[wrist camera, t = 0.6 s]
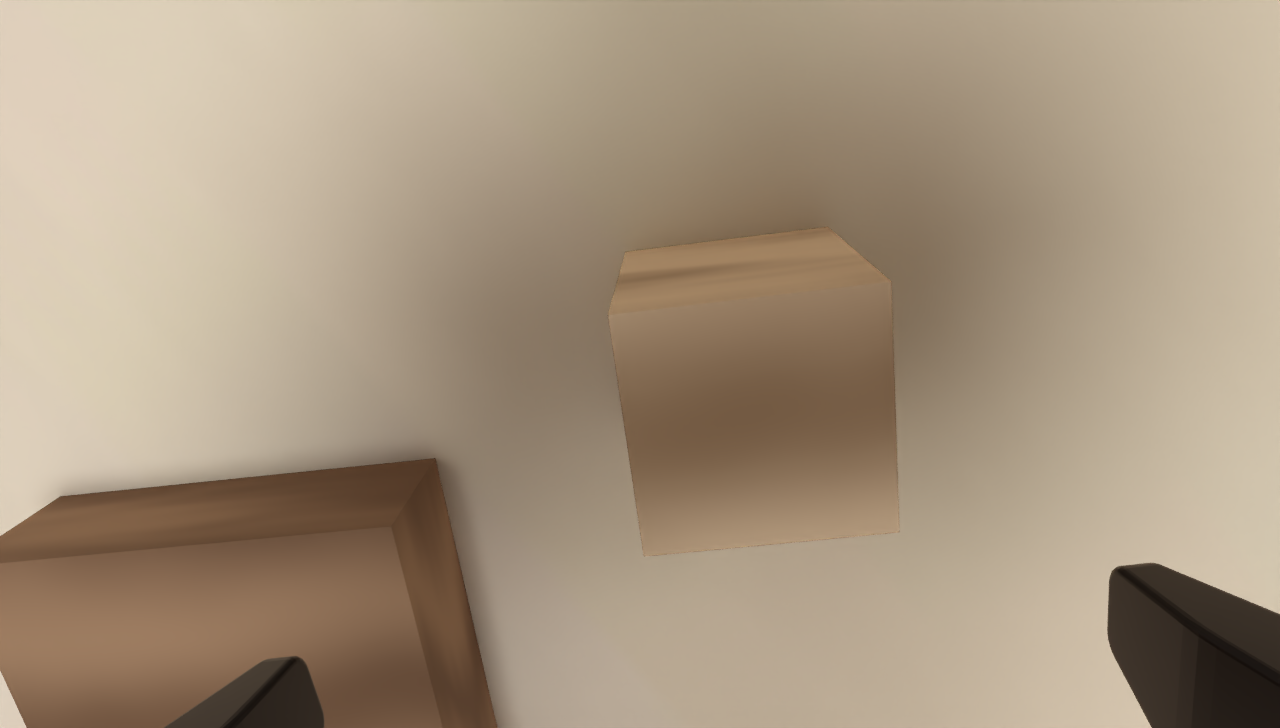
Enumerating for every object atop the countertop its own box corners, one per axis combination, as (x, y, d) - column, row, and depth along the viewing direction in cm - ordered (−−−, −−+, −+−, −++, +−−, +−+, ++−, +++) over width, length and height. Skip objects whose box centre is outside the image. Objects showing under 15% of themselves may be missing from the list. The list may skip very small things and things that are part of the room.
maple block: (838, 414, 21) (899, 532, 15) (650, 433, 22) (643, 556, 16) (827, 226, 20) (891, 281, 14) (625, 251, 20) (607, 314, 14)
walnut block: (508, 761, 26) (480, 876, 22) (186, 783, 27) (105, 898, 23) (438, 452, 22) (390, 526, 19) (70, 489, 23) (-48, 567, 19)
